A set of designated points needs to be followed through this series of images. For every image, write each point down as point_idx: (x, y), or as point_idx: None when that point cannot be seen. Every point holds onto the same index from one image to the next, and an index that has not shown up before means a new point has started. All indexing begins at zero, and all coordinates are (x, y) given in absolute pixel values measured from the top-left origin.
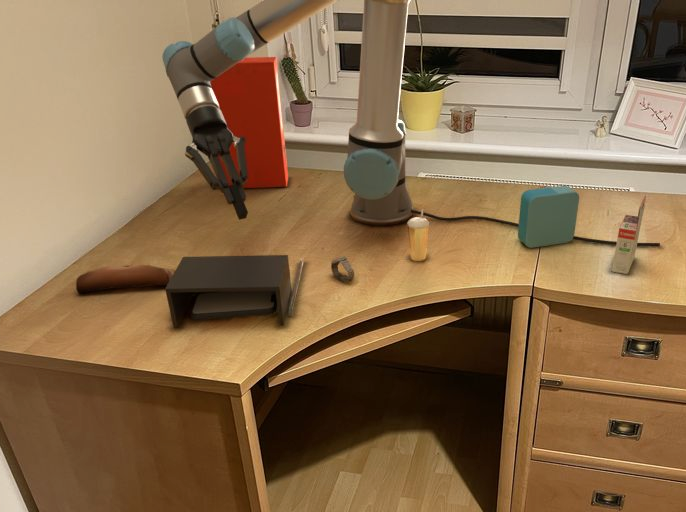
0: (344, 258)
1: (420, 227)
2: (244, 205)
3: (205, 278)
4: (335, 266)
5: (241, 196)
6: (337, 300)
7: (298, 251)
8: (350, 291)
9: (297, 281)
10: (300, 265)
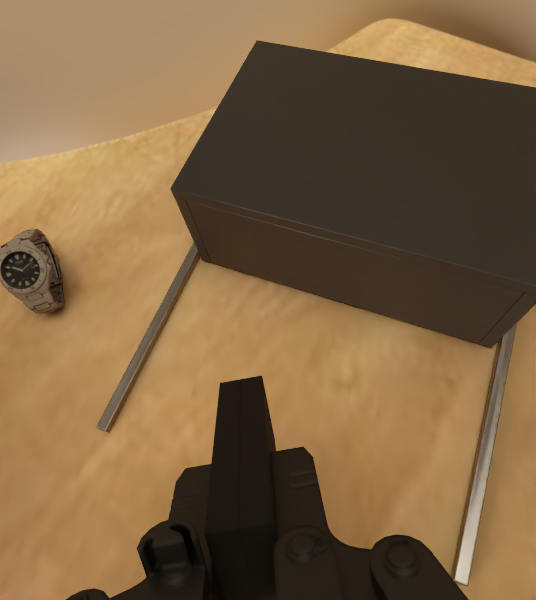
0: (9, 243)
1: None
2: (222, 407)
3: (454, 119)
4: (40, 303)
5: (214, 448)
6: (119, 194)
7: (71, 544)
8: (71, 222)
9: (169, 295)
10: (119, 395)
